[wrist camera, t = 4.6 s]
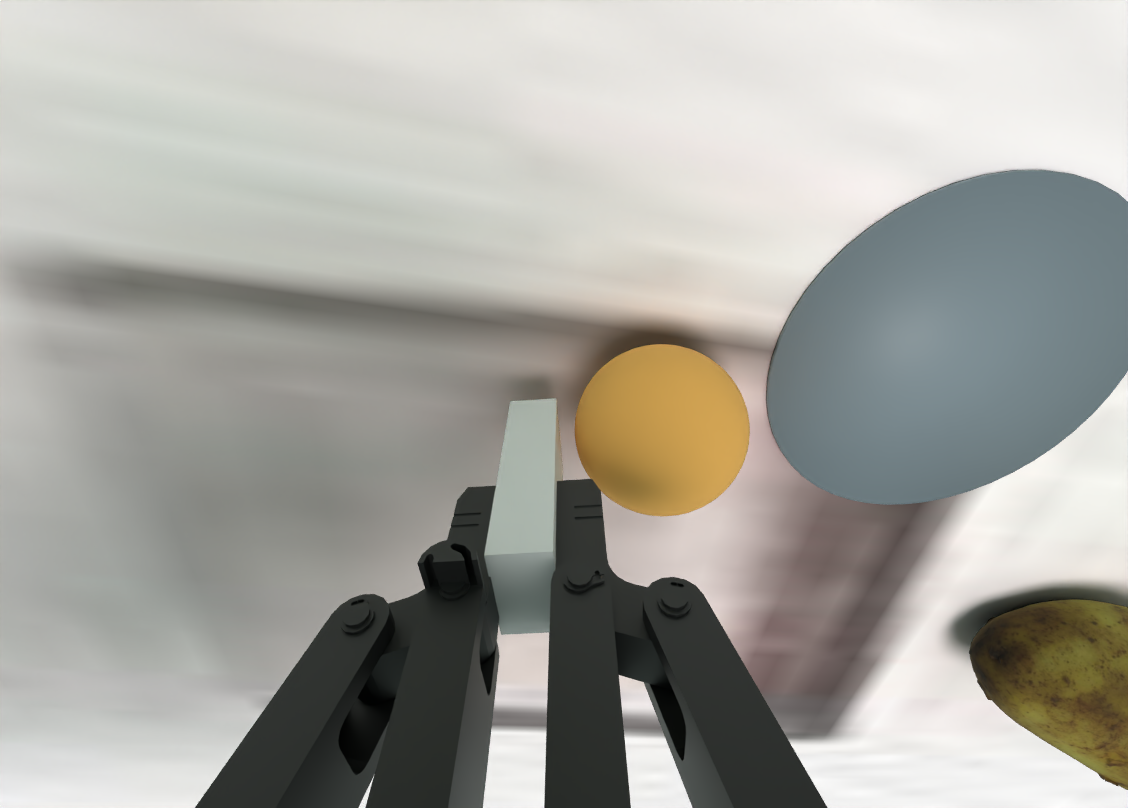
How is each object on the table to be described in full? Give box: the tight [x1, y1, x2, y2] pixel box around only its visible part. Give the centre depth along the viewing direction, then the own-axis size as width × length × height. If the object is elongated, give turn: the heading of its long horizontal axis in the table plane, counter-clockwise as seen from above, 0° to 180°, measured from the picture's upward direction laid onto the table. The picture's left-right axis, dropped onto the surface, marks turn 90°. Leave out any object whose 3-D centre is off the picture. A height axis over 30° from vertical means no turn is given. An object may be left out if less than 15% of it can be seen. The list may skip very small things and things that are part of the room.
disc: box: [766, 170, 1128, 504], centre depth 19 cm, size 13×13×1 cm
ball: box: [575, 344, 750, 516], centre depth 17 cm, size 6×6×6 cm
